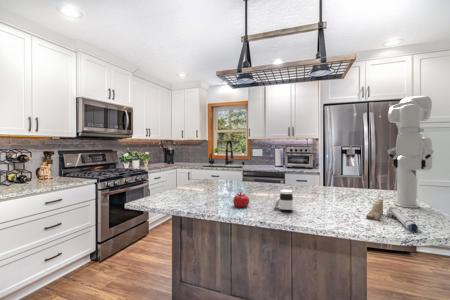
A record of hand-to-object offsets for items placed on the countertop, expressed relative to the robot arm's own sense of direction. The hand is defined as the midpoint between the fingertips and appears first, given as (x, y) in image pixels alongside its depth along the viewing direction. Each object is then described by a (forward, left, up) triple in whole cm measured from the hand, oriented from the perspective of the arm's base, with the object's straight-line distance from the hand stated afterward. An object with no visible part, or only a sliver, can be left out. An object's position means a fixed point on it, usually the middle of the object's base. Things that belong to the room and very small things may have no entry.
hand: (409, 168), depth 112 cm
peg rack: (-8, -15, -27) cm, 32 cm away
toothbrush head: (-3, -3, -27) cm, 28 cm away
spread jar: (+11, -58, -27) cm, 65 cm away
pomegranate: (+20, -82, -27) cm, 89 cm away
